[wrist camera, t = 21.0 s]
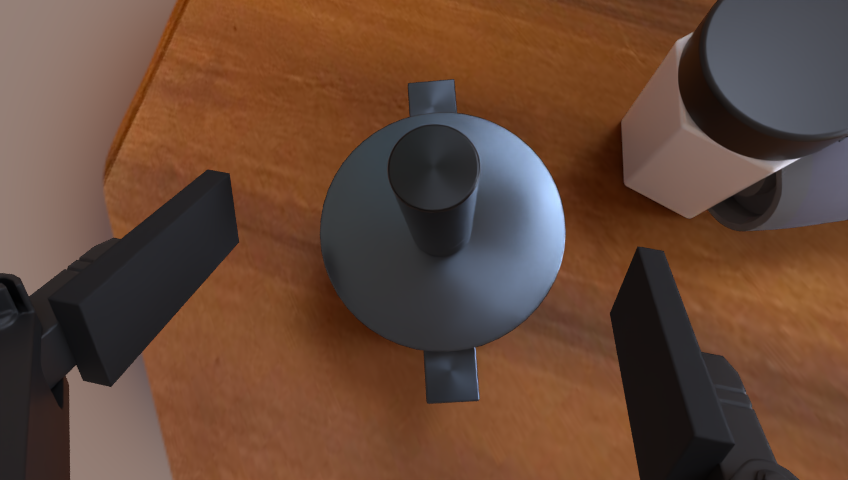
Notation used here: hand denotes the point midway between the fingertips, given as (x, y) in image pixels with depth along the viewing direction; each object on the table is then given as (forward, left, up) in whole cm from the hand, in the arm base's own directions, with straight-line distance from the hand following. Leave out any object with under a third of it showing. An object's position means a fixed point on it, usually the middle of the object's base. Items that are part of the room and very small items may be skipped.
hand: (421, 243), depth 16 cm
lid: (+1, +2, -7) cm, 7 cm away
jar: (+17, +8, -16) cm, 25 cm away
